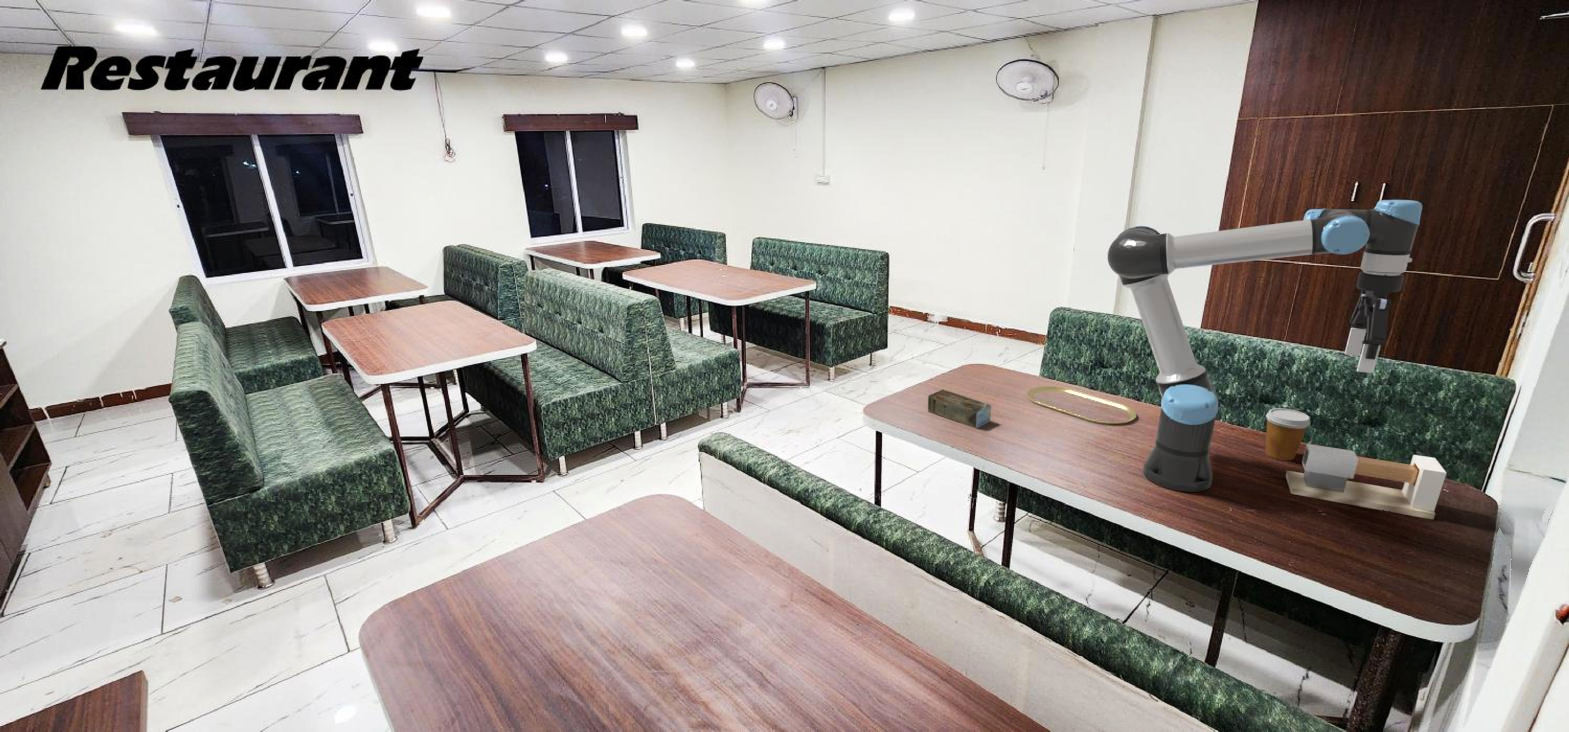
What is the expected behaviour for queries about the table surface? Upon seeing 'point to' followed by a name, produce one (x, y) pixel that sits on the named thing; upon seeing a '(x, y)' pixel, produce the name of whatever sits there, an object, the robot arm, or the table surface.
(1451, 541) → the table surface
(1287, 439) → the disposable coffee cup
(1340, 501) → the bench board
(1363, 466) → the brown wooden bar
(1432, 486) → the socket block
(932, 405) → the beverage carton
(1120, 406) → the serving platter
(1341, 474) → the sleeve
